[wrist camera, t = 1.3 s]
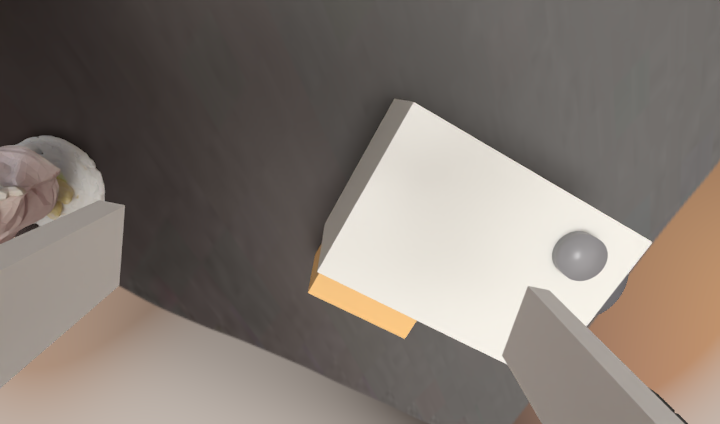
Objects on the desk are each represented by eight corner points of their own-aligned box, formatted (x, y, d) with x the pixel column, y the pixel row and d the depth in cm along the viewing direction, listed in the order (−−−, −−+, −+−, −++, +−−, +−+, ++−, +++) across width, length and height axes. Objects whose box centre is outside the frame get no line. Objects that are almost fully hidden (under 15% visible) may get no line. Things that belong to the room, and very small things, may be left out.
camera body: (323, 225, 36) (314, 281, 26) (394, 98, 33) (416, 102, 23) (515, 323, 39) (577, 408, 29) (594, 215, 37) (694, 266, 26)
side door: (314, 255, 36) (307, 293, 29) (327, 233, 35) (322, 266, 29) (393, 294, 37) (404, 339, 31) (406, 273, 37) (420, 314, 30)
